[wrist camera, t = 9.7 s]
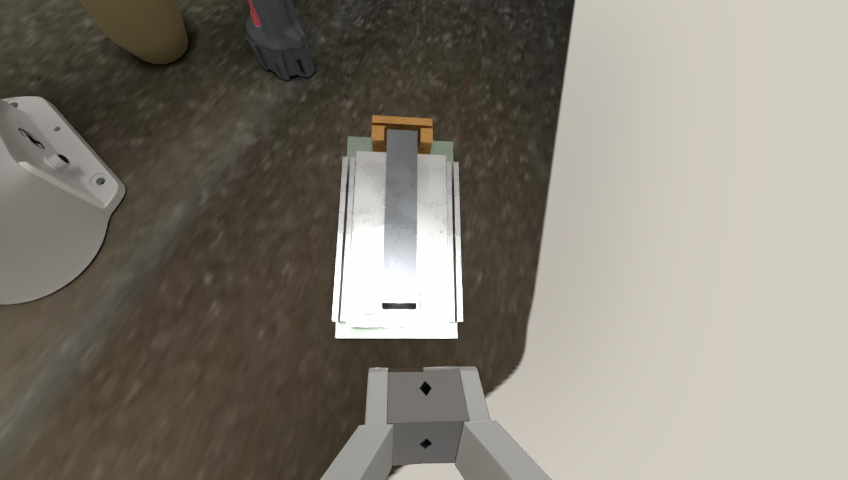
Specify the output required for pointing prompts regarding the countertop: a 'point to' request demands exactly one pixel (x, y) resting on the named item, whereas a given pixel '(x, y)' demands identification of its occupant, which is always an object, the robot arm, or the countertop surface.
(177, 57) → the squeeze bottle
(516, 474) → the robot arm
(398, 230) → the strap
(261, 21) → the flashlight
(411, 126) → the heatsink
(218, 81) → the countertop surface
